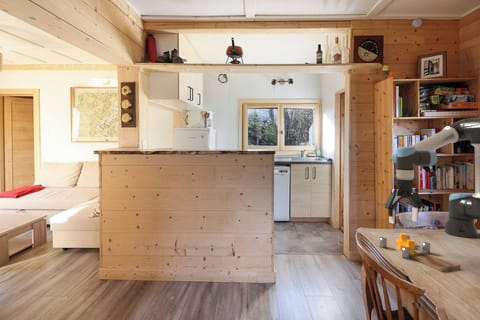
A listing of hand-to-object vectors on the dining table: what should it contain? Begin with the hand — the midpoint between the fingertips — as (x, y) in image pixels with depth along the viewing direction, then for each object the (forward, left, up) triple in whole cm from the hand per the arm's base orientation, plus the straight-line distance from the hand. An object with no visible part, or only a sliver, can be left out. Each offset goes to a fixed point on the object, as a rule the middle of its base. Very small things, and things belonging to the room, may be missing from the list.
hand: (403, 222), depth 148 cm
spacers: (0, +2, -14) cm, 14 cm away
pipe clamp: (-1, 0, -14) cm, 14 cm away
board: (0, +17, -14) cm, 22 cm away
